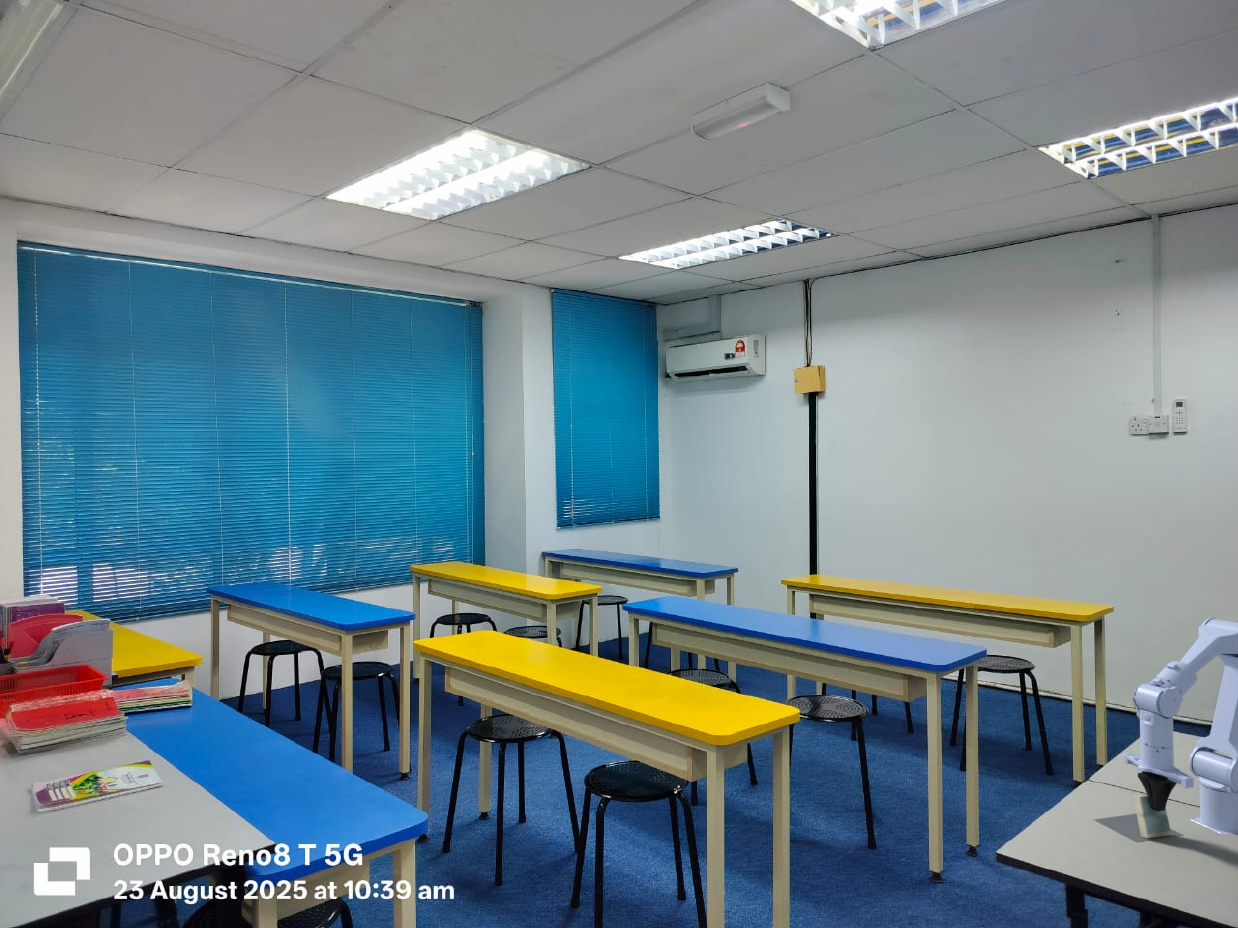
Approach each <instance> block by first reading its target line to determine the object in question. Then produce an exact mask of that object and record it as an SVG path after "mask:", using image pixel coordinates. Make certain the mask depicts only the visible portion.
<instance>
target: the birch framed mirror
mask: <svg viewBox="0 0 1238 928" xmlns="http://www.w3.org/2000/svg"><path fill="white" fill-rule="evenodd" d="M1133 801H1134V806H1135V812H1136V813H1135V814H1137V818H1138V823H1139V828H1140V833H1141V837H1145V838H1153V837H1160V836H1166V835H1171V831H1170V829H1171V826H1170V823H1169V822H1170V821H1169V817H1168V812H1167V806H1166V807H1165V810H1164V811H1155V810H1153V809H1151V805H1150V802H1149V799H1148V796H1147V793H1145V794H1144V793H1143V794H1136V795H1135V794H1134V795H1133Z"/></svg>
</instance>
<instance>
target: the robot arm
mask: <svg viewBox="0 0 1238 928" xmlns="http://www.w3.org/2000/svg"><path fill="white" fill-rule="evenodd" d="M1197 635H1198V638H1197V639H1196V640H1195V642H1194V643H1193V644H1192V645H1191V647H1190V648H1189V649H1188V650H1187V651H1186V653H1185V654H1184V655H1183V657H1182V658H1181V659H1180V661H1169V662H1168V663H1167V664H1166V666H1164V668H1163V669H1162V670H1161V671H1160V672H1159V673H1158V674H1157V675H1156V676H1155V677H1154V678H1153V679H1152V680H1150V682H1149V683H1146V682H1145V683H1143V684H1140V685H1138V686H1137V687H1136V688H1135V690H1134V692H1133V696H1131V700H1132V704H1133V707H1135V709H1136V716H1137V718H1138V719H1139V734H1140V735H1139V737H1140V739H1139V742H1140V755H1139V754H1136V753H1132V752H1127V753H1123V763H1124V764H1126V765H1132V766H1135V767H1137V768H1138V770H1140V771H1141V772H1138V773H1137V778H1138V779H1139V781H1140V782H1141V784H1142V786H1143V789H1144V790H1145V792H1146V793H1145V794H1147V796H1148V799H1149V802H1150V805H1151V809H1153V810H1155V811H1164V810H1165V807H1166V808H1167V803H1168V800H1169V797H1170V795H1171V793H1172V791H1173V789H1174V788H1175V787H1176V786H1177V784H1178V785H1181V787H1182V788H1185V789H1191V788H1194V787H1195V786H1194V780H1195V781H1196V782H1198V783H1199V784H1198V785H1199V816H1198V817H1193V818H1189V820H1190V821H1192V822H1194V823H1196V824H1199V825H1201V826H1203V827H1206V828H1207V829H1209V830H1212V831H1214V832H1216V833H1219V834H1221V835H1223V836H1224V835H1225V836H1228V835H1234V834H1238V622H1235V621H1230V620H1224V619H1218V618H1214V617H1208V618H1206V619H1205V620H1204V621H1203V622H1202V624H1201V625H1199V626H1198V631H1197ZM1216 657H1217V658H1219V659H1221V661H1222V663H1223V664H1224V670H1223V674H1222V678H1221V682H1220V688H1219V693H1218V695H1217V696H1218V698H1217V702H1216V707H1215V710H1214V715H1213V720H1212V723H1211V729H1210V732H1209V733H1210V734H1209V735H1207V736H1206V737H1203V738H1201V739H1198V740H1196V743H1195V746H1194V749H1193V750H1192V752H1191V753H1190V755H1189V757H1188V766H1189V767H1188V768H1189V771H1190V772H1191V774H1192V775H1193V776H1195V779H1194V777H1193V776H1191V775H1189V774H1187V773H1185V772H1183V771H1182V770H1180V769H1179V768H1178V767H1175V760H1174V758H1175V755H1174V753H1175V752H1174V748H1175V747H1174V717H1175V716H1176V715H1177V714H1178V713H1179V710H1180V708H1181V704H1182V702H1183V700H1184V696H1185V694H1187V693H1188V691H1190V689H1192V687H1194V685H1196V683H1197V682H1198V676H1197V673H1198V672H1199V671H1200V670H1201V669H1204V667H1205V666H1206V665H1208V664H1209V663H1210V662H1211V661H1212V660H1214V659H1215V658H1216ZM1219 752H1221V754H1220V753H1219ZM1222 753H1223V754H1222ZM1224 754H1226V755H1224ZM1227 755H1228V756H1227Z"/></svg>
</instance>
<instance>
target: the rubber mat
mask: <svg viewBox="0 0 1238 928" xmlns="http://www.w3.org/2000/svg"><path fill="white" fill-rule="evenodd" d="M1093 821H1094V822H1097V823H1098V824H1101V825H1103V826H1105V827H1106V828H1108V829H1110V830H1112V831H1114V832H1116V833H1118V834H1120V835H1122V836H1124V837H1126V838H1127V839H1129V840H1131V841H1133V842H1135V843H1142V842H1149V841H1155V840H1162V839H1170V838H1176V837H1183V836H1185V835H1184V834H1183V833H1181V832H1178V831H1176V830H1174V829H1172V828H1170V831H1171V835H1166V836H1160V837H1153V838H1145V837H1141V833H1140V828H1139V823H1138V818H1137V813H1132V814H1124V815H1118V816H1110V817H1104V818H1102V817H1101V818H1096V819H1095V818H1094V819H1093Z"/></svg>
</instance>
